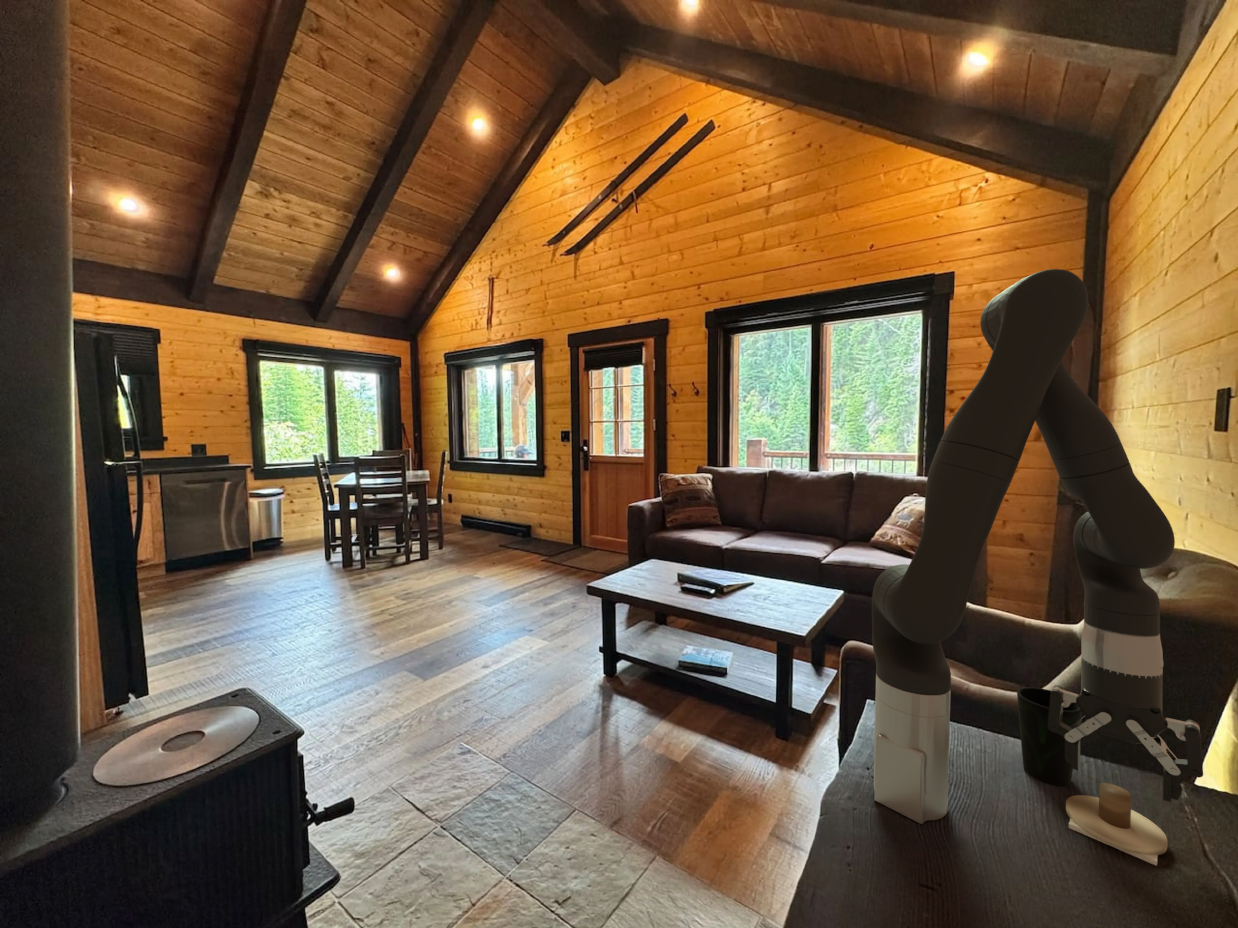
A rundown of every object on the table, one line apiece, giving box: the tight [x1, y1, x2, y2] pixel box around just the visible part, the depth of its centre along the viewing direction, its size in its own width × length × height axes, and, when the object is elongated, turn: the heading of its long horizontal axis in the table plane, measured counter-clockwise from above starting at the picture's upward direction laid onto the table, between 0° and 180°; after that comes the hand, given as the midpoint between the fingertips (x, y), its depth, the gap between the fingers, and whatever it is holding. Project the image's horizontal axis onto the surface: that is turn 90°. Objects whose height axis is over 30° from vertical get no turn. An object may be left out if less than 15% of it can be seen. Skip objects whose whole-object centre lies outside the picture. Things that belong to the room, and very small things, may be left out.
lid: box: [1065, 782, 1169, 856], centre depth 66 cm, size 10×10×5 cm
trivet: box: [1068, 817, 1159, 867], centre depth 66 cm, size 8×8×1 cm
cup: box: [1016, 686, 1083, 788], centre depth 77 cm, size 8×8×12 cm
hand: (1119, 782), depth 66 cm, fingers open, 8 cm apart
